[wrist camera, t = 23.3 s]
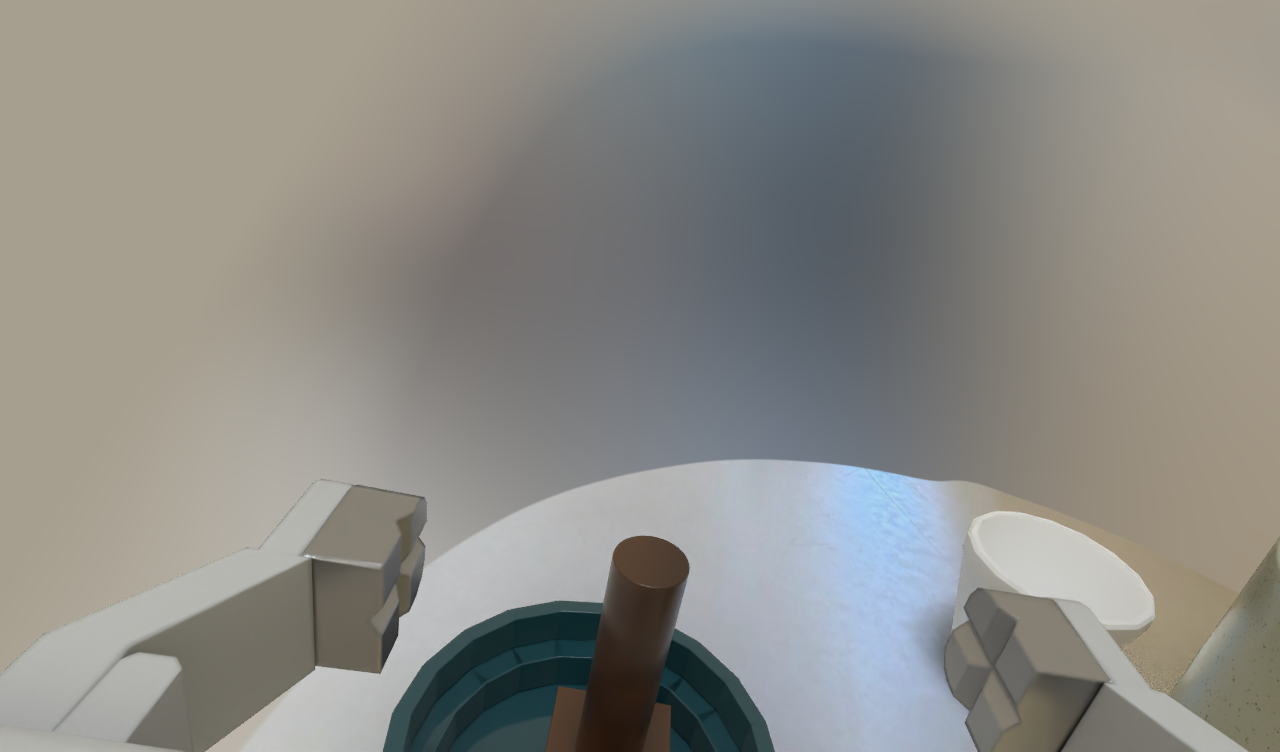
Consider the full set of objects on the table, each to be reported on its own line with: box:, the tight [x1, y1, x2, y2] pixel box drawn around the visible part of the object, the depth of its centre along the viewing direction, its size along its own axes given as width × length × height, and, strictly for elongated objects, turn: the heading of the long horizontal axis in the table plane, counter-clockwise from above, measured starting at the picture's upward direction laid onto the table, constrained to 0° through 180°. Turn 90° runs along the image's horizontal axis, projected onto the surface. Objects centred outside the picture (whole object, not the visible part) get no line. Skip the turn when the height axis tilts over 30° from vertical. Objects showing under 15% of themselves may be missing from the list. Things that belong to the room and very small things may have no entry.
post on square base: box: [545, 536, 690, 752], centre depth 28 cm, size 5×5×14 cm
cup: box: [951, 511, 1155, 648], centre depth 42 cm, size 10×10×9 cm
